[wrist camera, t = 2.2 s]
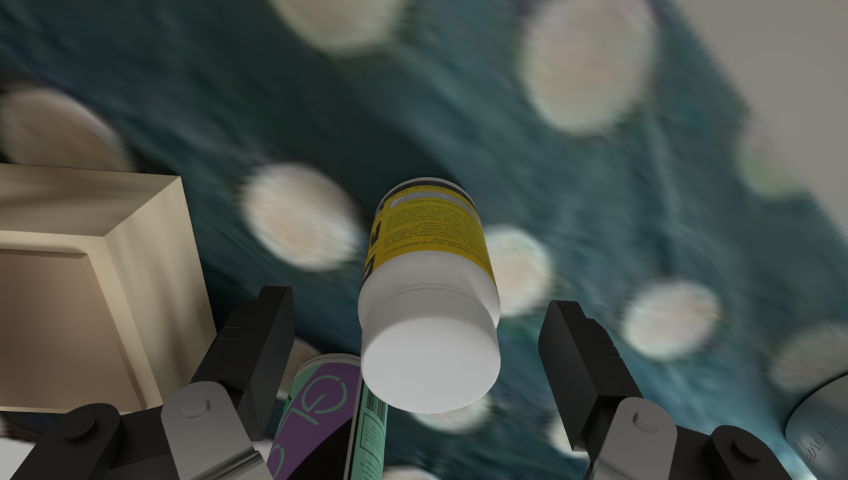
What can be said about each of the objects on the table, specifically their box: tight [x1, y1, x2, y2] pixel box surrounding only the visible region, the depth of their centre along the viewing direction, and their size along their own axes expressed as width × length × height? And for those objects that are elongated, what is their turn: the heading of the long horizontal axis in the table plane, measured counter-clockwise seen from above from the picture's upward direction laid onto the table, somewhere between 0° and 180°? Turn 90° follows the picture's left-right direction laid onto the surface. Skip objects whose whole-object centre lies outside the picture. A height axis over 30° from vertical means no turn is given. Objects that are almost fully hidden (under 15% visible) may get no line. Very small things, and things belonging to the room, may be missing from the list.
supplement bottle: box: [358, 177, 500, 413], centre depth 15 cm, size 5×5×8 cm
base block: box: [0, 163, 217, 415], centre depth 17 cm, size 9×9×5 cm
